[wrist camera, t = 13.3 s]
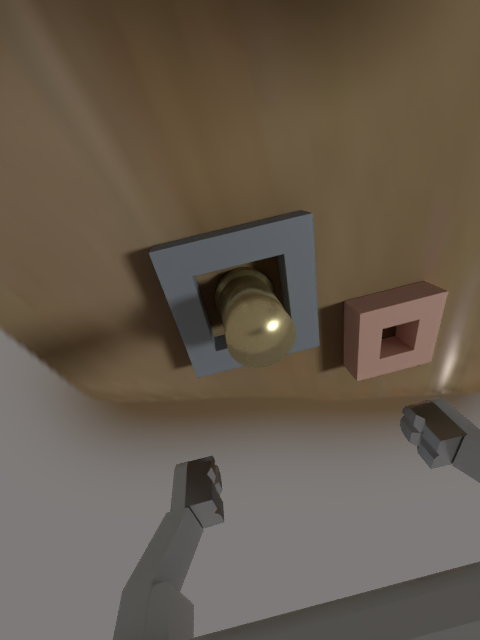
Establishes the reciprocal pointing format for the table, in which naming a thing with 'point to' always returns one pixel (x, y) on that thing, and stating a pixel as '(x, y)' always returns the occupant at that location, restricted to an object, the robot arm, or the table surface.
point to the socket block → (231, 250)
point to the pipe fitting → (253, 318)
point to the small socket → (386, 311)
